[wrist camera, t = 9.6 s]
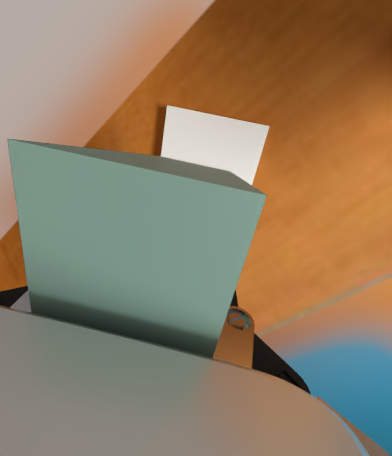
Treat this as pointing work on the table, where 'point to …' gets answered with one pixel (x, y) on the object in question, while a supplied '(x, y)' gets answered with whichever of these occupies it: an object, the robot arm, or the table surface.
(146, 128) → the table surface
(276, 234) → the table surface
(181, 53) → the table surface
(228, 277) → the book block
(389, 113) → the table surface
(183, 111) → the shelf board
